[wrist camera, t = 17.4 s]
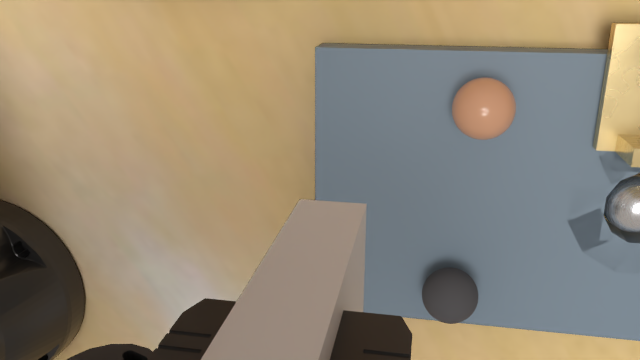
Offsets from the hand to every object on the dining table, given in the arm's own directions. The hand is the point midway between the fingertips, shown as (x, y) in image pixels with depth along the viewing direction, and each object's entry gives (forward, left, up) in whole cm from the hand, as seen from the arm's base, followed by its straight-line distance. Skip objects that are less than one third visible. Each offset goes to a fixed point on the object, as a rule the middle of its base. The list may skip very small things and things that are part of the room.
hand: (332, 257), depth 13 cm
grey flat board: (+9, -7, -26) cm, 29 cm away
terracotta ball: (+5, -1, -22) cm, 23 cm away
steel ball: (+15, -7, -25) cm, 30 cm away
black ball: (+4, -13, -22) cm, 26 cm away
